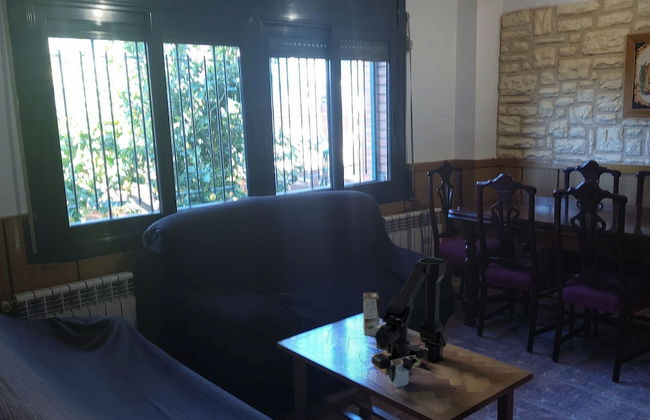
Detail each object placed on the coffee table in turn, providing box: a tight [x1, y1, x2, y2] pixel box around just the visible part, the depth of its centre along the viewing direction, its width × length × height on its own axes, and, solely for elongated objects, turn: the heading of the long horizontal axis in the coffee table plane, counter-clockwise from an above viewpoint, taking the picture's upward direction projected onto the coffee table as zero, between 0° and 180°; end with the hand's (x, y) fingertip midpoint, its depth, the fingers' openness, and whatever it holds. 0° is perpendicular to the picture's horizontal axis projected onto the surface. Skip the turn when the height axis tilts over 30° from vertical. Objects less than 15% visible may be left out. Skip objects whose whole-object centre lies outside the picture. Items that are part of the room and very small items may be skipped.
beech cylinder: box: [413, 355, 422, 367], centre depth 203 cm, size 5×5×5 cm
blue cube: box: [387, 364, 410, 388], centre depth 189 cm, size 5×5×5 cm
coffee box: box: [362, 291, 380, 336], centre depth 233 cm, size 9×6×16 cm
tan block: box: [373, 350, 402, 375], centre depth 200 cm, size 7×7×5 cm
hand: (398, 379), depth 189 cm, fingers closed on blue cube, 5 cm apart
